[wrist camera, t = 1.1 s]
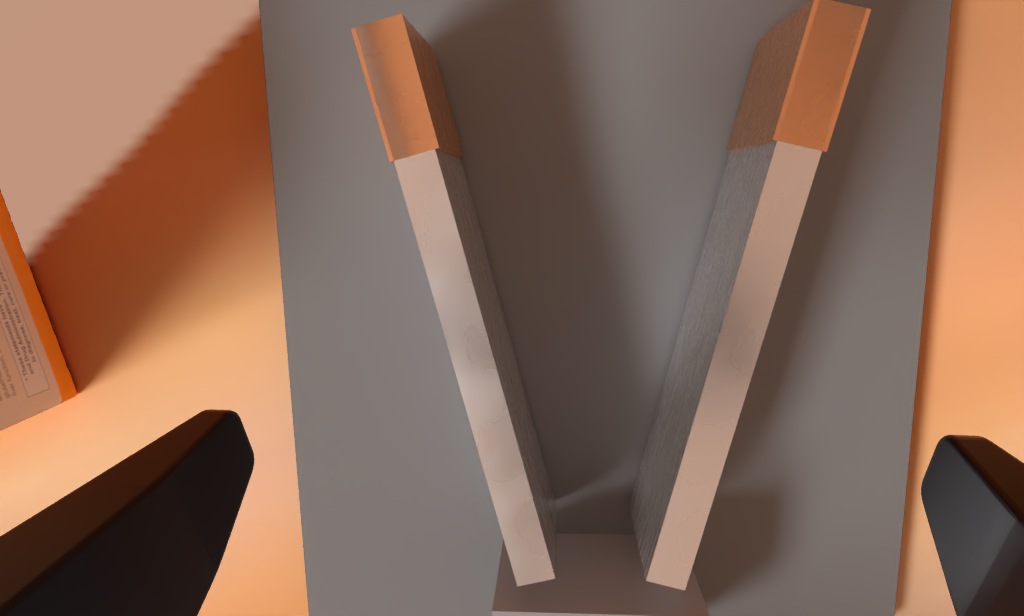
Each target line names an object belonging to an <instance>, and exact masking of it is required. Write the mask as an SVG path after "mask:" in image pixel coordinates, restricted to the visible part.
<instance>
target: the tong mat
mask: <svg viewBox="0 0 1024 616" xmlns="http://www.w3.org/2000/svg"><path fill="white" fill-rule="evenodd" d="M809 1H810V0H259V7H260V19H261V32H262V44H263V56H264V69H265V81H266V93H267V105H268V118H269V130H270V142H271V155H272V167H273V179H274V191H275V204H276V216H277V228H278V241H279V253H280V265H281V277H282V290H283V302H284V314H285V327H286V339H287V351H288V363H289V376H290V388H291V400H292V413H293V425H294V437H295V449H296V462H297V474H298V486H299V499H300V511H301V523H302V535H303V548H304V560H305V572H306V585H307V597H308V609H309V616H894V615H895V604H896V593H897V583H898V572H899V561H900V551H901V540H902V529H903V519H904V508H905V497H906V487H907V476H908V465H909V454H910V444H911V433H912V422H913V412H914V401H915V390H916V380H917V369H918V358H919V348H920V337H921V326H922V316H923V305H924V294H925V284H926V273H927V262H928V252H929V241H930V230H931V219H932V209H933V198H934V187H935V177H936V166H937V155H938V145H939V134H940V123H941V113H942V102H943V91H944V81H945V70H946V59H947V49H948V38H949V27H950V17H951V6H952V0H832V1H837V2H841V3H846V4H850V5H855V6H859V7H864V8H868V9H871V12H870V15H869V19H868V22H867V25H866V28H865V31H864V34H863V38H862V41H861V44H860V47H859V50H858V54H857V57H856V60H855V63H854V66H853V70H852V73H851V76H850V79H849V82H848V86H847V89H846V92H845V95H844V98H843V101H842V105H841V108H840V111H839V114H838V117H837V121H836V124H835V127H834V130H833V133H832V137H831V140H830V143H829V146H828V149H827V152H824V153H821V156H820V160H819V163H818V166H817V169H816V172H815V176H814V179H813V182H812V185H811V188H810V192H809V195H808V198H807V201H806V204H805V208H804V211H803V214H802V217H801V220H800V224H799V227H798V230H797V233H796V236H795V240H794V243H793V246H792V249H791V252H790V256H789V259H788V262H787V265H786V268H785V272H784V275H783V278H782V281H781V285H780V288H779V291H778V294H777V297H776V301H775V304H774V307H773V310H772V313H771V317H770V320H769V323H768V326H767V329H766V333H765V336H764V339H763V342H762V345H761V349H760V352H759V355H758V358H757V361H756V365H755V368H754V371H753V374H752V377H751V381H750V384H749V387H748V390H747V393H746V397H745V400H744V403H743V406H742V410H741V413H740V416H739V419H738V422H737V426H736V429H735V432H734V435H733V438H732V442H731V445H730V448H729V451H728V454H727V458H726V461H725V464H724V467H723V470H722V474H721V477H720V480H719V483H718V486H717V490H716V493H715V496H714V499H713V502H712V506H711V509H710V512H709V515H708V518H707V522H706V525H705V528H704V531H703V535H702V538H701V541H700V544H699V547H698V551H697V554H696V557H695V560H694V563H693V567H692V570H691V573H690V576H689V579H688V583H687V586H686V589H685V590H681V589H677V588H673V587H669V586H665V585H661V584H657V583H653V582H649V581H646V579H645V574H644V570H643V565H642V561H641V557H640V552H639V548H638V543H637V539H636V535H635V530H634V526H633V521H632V517H631V513H630V508H629V503H630V500H631V496H632V493H633V489H634V486H635V482H636V479H637V475H638V472H639V468H640V464H641V461H642V457H643V454H644V450H645V447H646V443H647V440H648V436H649V433H650V429H651V426H652V422H653V419H654V415H655V412H656V408H657V405H658V401H659V398H660V394H661V391H662V387H663V384H664V380H665V377H666V373H667V370H668V366H669V363H670V359H671V356H672V352H673V349H674V345H675V342H676V338H677V335H678V331H679V328H680V324H681V321H682V317H683V314H684V310H685V307H686V303H687V300H688V296H689V293H690V289H691V286H692V282H693V279H694V275H695V272H696V268H697V265H698V261H699V258H700V254H701V251H702V247H703V244H704V240H705V237H706V233H707V230H708V226H709V223H710V219H711V216H712V212H713V209H714V205H715V202H716V198H717V195H718V191H719V188H720V184H721V181H722V177H723V174H724V170H725V167H726V163H727V160H728V156H729V153H730V152H727V151H726V150H727V147H728V143H729V140H730V136H731V133H732V129H733V126H734V122H735V119H736V115H737V111H738V108H739V104H740V101H741V97H742V94H743V90H744V87H745V83H746V80H747V76H748V73H749V69H750V66H751V62H752V59H753V55H754V52H755V48H756V45H757V41H758V40H759V39H760V38H762V37H763V36H764V35H766V34H767V33H768V32H770V31H771V30H772V29H774V28H775V27H776V26H777V25H779V24H780V23H781V22H783V21H784V20H785V19H787V18H788V17H789V16H791V15H792V14H793V13H795V12H796V11H797V10H798V9H800V8H801V7H802V6H804V5H805V4H806V3H808V2H809ZM400 13H402V14H403V15H404V16H405V18H406V19H407V20H408V21H409V22H410V23H411V24H412V26H413V27H414V28H415V29H416V30H417V31H418V32H419V34H420V35H421V36H422V37H423V38H424V39H425V40H426V42H427V43H428V44H429V45H430V46H431V47H432V49H433V50H434V51H435V52H436V56H437V59H438V63H439V67H440V70H441V74H442V78H443V81H444V85H445V89H446V92H447V96H448V100H449V103H450V107H451V111H452V114H453V118H454V122H455V125H456V129H457V133H458V136H459V140H460V144H461V147H462V151H463V155H464V158H461V160H462V164H463V168H464V171H465V175H466V178H467V182H468V186H469V189H470V193H471V197H472V200H473V204H474V208H475V211H476V215H477V219H478V222H479V226H480V229H481V233H482V237H483V240H484V244H485V248H486V251H487V255H488V259H489V262H490V266H491V270H492V273H493V277H494V280H495V284H496V288H497V291H498V295H499V299H500V302H501V306H502V310H503V313H504V317H505V321H506V324H507V328H508V332H509V335H510V339H511V342H512V346H513V350H514V353H515V357H516V361H517V364H518V368H519V372H520V375H521V379H522V383H523V386H524V390H525V393H526V397H527V401H528V404H529V408H530V412H531V415H532V419H533V423H534V426H535V430H536V434H537V437H538V441H539V444H540V448H541V452H542V455H543V459H544V463H545V466H546V470H547V474H548V477H549V481H550V485H551V488H552V492H553V495H554V499H555V503H556V559H555V579H551V580H547V581H542V582H537V583H532V584H527V585H522V586H517V583H516V580H515V577H514V573H513V570H512V566H511V563H510V559H509V556H508V552H507V549H506V546H505V542H504V539H503V535H502V532H501V528H500V525H499V521H498V518H497V515H496V511H495V508H494V504H493V501H492V497H491V494H490V491H489V487H488V484H487V480H486V477H485V473H484V470H483V466H482V463H481V460H480V456H479V453H478V449H477V446H476V442H475V439H474V435H473V432H472V429H471V425H470V422H469V418H468V415H467V411H466V408H465V404H464V401H463V398H462V394H461V391H460V387H459V384H458V380H457V377H456V373H455V370H454V367H453V363H452V360H451V356H450V353H449V349H448V346H447V343H446V339H445V336H444V332H443V329H442V325H441V322H440V318H439V315H438V312H437V308H436V305H435V301H434V298H433V294H432V291H431V287H430V284H429V281H428V277H427V274H426V270H425V267H424V263H423V260H422V256H421V253H420V250H419V246H418V243H417V239H416V236H415V232H414V229H413V225H412V222H411V219H410V215H409V212H408V208H407V205H406V201H405V198H404V195H403V191H402V188H401V184H400V181H399V177H398V174H397V170H396V167H395V164H394V163H392V162H389V158H388V155H387V151H386V148H385V144H384V141H383V138H382V134H381V131H380V127H379V124H378V120H377V117H376V114H375V110H374V107H373V103H372V100H371V96H370V93H369V90H368V86H367V83H366V79H365V76H364V72H363V69H362V66H361V62H360V59H359V55H358V52H357V48H356V45H355V42H354V38H353V35H352V31H351V29H353V28H356V27H359V26H362V25H365V24H369V23H372V22H375V21H378V20H381V19H384V18H388V17H391V16H394V15H397V14H400Z"/></svg>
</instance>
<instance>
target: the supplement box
mask: <svg viewBox="0 0 1024 616" xmlns="http://www.w3.org/2000/svg"><path fill="white" fill-rule="evenodd" d="M76 395H77V392H76V389H75V386H74V382H73V380H72V378H71V374H70V372H69V370H68V368H67V366H66V363H65V359H64V357H63V354H62V352H61V350H60V347H59V344H58V341H57V338H56V336H55V333H54V331H53V329H52V325H51V323H50V320H49V318H48V315H47V311H46V309H45V307H44V305H43V302H42V299H41V296H40V294H39V292H38V289H37V287H36V283H35V281H34V278H33V275H32V272H31V270H30V267H29V265H28V262H27V260H26V257H25V254H24V252H23V250H22V248H21V245H20V242H19V239H18V236H17V233H16V231H15V228H14V225H13V223H12V221H11V218H10V214H9V212H8V209H7V207H6V204H5V201H4V199H3V196H2V194H1V191H0V431H1V430H3V429H6V428H8V427H10V426H12V425H15V424H17V423H19V422H21V421H23V420H26V419H28V418H30V417H32V416H34V415H37V414H39V413H41V412H43V411H45V410H48V409H50V408H52V407H54V406H56V405H59V404H61V403H62V402H64V401H67V400H69V399H71V398H72V397H74V396H76Z"/></svg>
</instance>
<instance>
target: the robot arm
mask: <svg viewBox="0 0 1024 616" xmlns="http://www.w3.org/2000/svg"><path fill="white" fill-rule="evenodd" d="M253 466H254V454H253V450H252V447H251V445H250V442H249V440H248V437H247V435H246V432H245V429H244V427H243V424H242V422H241V419H240V417H239V415H238V414H237V413H236V412H234V411H231V410H205V411H202V412H200V413H199V414H197V415H195V416H194V417H192V418H191V419H189V420H187V421H186V422H184V423H183V424H181V425H179V426H178V427H176V428H174V429H173V430H171V431H170V432H168V433H166V434H165V435H163V436H162V437H160V438H158V439H157V440H155V441H154V442H152V443H150V444H149V445H147V446H145V447H144V448H142V449H141V450H139V451H137V452H136V453H134V454H133V455H131V456H129V457H128V458H126V459H125V460H123V461H121V462H120V463H118V464H116V465H115V466H113V467H112V468H110V469H108V470H107V471H105V472H104V473H102V474H100V475H99V476H97V477H95V478H94V479H92V480H91V481H89V482H87V483H86V484H84V485H83V486H81V487H79V488H78V489H76V490H75V491H73V492H71V493H70V494H68V495H66V496H65V497H63V498H62V499H60V500H58V501H57V502H55V503H54V504H52V505H50V506H49V507H47V508H46V509H44V510H42V511H41V512H39V513H37V514H36V515H34V516H33V517H31V518H29V519H28V520H26V521H25V522H23V523H21V524H20V525H18V526H17V527H15V528H13V529H12V530H10V531H8V532H7V533H5V534H4V535H2V536H0V616H197V615H198V613H199V611H200V608H201V606H202V604H203V602H204V600H205V598H206V595H207V593H208V591H209V589H210V587H211V584H212V582H213V580H214V578H215V575H216V573H217V571H218V568H219V565H220V563H221V560H222V557H223V555H224V552H225V549H226V546H227V543H228V540H229V537H230V535H231V532H232V529H233V526H234V523H235V520H236V517H237V514H238V511H239V509H240V506H241V503H242V500H243V497H244V494H245V491H246V488H247V485H248V483H249V480H250V477H251V474H252V471H253ZM921 495H922V501H923V505H924V508H925V512H926V515H927V518H928V522H929V525H930V528H931V532H932V535H933V538H934V542H935V545H936V549H937V552H938V555H939V559H940V562H941V565H942V569H943V572H944V575H945V579H946V582H947V586H948V589H949V592H950V596H951V599H952V602H953V605H954V608H955V611H956V614H957V616H1024V463H1023V462H1021V461H1020V460H1018V459H1017V458H1015V457H1014V456H1012V455H1011V454H1009V453H1008V452H1006V451H1005V450H1003V449H1002V448H1000V447H999V446H997V445H996V444H994V443H993V442H991V441H990V440H988V439H986V438H984V437H980V436H966V435H948V436H944V437H943V438H942V439H941V440H939V442H938V444H937V446H936V449H935V451H934V454H933V456H932V459H931V461H930V464H929V466H928V469H927V471H926V474H925V476H924V479H923V482H922V487H921Z"/></svg>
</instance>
